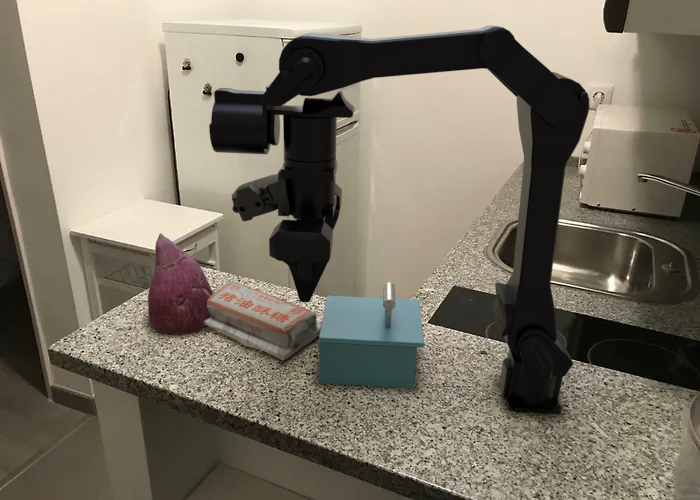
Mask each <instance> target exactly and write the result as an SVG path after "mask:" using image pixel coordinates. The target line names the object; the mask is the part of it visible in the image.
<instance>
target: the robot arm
mask: <svg viewBox="0 0 700 500" xmlns="http://www.w3.org/2000/svg"><path fill="white" fill-rule="evenodd" d="M481 69H483V70H488V71H489V73H490V74H492V75H493V76H494V78H496V80H498V81H499V82H500V83H501V84H502V85H503V86H504V87H505V88H506V89H507V90H508V91H509V92H511V93H512V94H513V95H514V96H515V97H516V111H517V124H518V131H519V137H520V143H521V146H522V148H521V149H522V153H523V154H522V155H523V166H522V167H523V168H522V170H523V171H522V178H521V186H520V187H521V188H520V198H519V207H518V217H517V218H518V219H517V228H516V239H515V246H514V247H515V248H514V258H513V268H512V273H511V275H510V277H509V279H508V280H507V282H506V283H503V282H495V284H494V287H495V300H494V301H495V302H494V304H493V305H492V307H491V308H492V309H491V310H492V312H493V315H494V318H495V321H496V324H497V326H498V329H499V332H500V336H501V337H502V338H503V337H504V338H505V341H506V344H507V346H508V354H507V358H506V357H505V358H503V359H502V364H501V369H500V370H501V372H500V377H499V384H498V385H499V388H500V392H501V394H502V397H503V398H505V401H506V405H507V408H508V410H510V411H517V412H519V411H520V412H530V413H531V412H534V413H550V414H561V413H562V410H563V408H562V405H561V402H560V400H559V397H560V393H561V389H562V383H563V378H564V377H566V376H567V374H568V372H570V370H571V368H572V367H573V365H574V361H573V360H572V357H571V356H570V354H569V352H568V350H567V348H566V345H565V343H564V342H563V340H562V338H561V336H560V334H559V331H558V327H557V314H556V308H555V302H554V297H553V292H552V285H551V281H552V274H553V268H554V261H555V260H554V259H555V252H556V245H557V237H558V228H559V222H560V221H559V220H560V214H561V206H562V197H563V189H564V183H565V174H566V168H567V165H568V162H569V161H570V159H571V157H572V155H573V154H574V152H575V150H576V148H577V147H578V145H579V143H580V141H581V138H582V135H583V131H584V128H585V126H586V122H587V119H588V115H589V112H590V97H589V94H588V91H587V90H586V89H585V88H584V87H583V86H582V84H581V83H579V82H577V81H576V80H574V79H572V78H570V77H567V76H565V75H563V74H560V73H558V72H555V71H551V70H550V69H549V68H548V67H547V66H546V65H545V64H543V62H541V60H540V59H538V58H537V57H535V56H534V55H533V54H532V53H531V52H530V51H529V50H528V49H526V48H525V47H524V46H523V45H522V44H521V43H520V42H519V41H518V40H517V39H516V38H515V36H514V34H513V33H512V32H511V31H510V30H509V29H507V28H505V27H502V26H498V25H485V26H483V27H479V28H475V29H464V30H454V31H442V32H431V33H421V34H419V33H418V34H411V35H399V36H389V37H388V36H387V37H378V38H377V37H375V38H368V37H367V38H366V37H357V36H349V35H342V34H330V33H322V32H321V33H320V32H309V33H304V34H302V35H301V34H300V35H299V36H297V37H294V38H293V39H291V40H290V41H288V42H287V43H286V45H285V46H284V47H283V49H282V50H281V52H280V55H279V59H278V71H279V72H278V74H277V75H276V76H275V77H274V79H273V80H272V82H270V83H269V84H268V85H266V86H265V90H263V91H261V90H239V89H235V88H232V87H231V88H230V87H219V88H217V89H215V91H214V92H213V95H214V97H213V98H214V103H213V105H212V108H211V109H212V110H211V118H210V123H209V125H208V131H209V139H210V144H211V147H212V150H213V151H214V152H215V153H224V154H247V155H251V154H252V155H268V154H269V152H270V149H271V146H275V147H276V146H278V145H279V143H280V138H281V137H280V136H281V119H280V116H283V117H282V124H283V129H282V130H283V131H282V134H283V135H282V136H283V164H282V166H281V168H280V169H279V170H278V171H277V173H275V174H270V175H267V176H264V177H263V176H262V177H260V178H257V179H254V180H250V181H247V182H245V183H243V184H240V185H238V186H237V188H236V189H235V190H234V191H233V193H232V194H231V201H232V203H233V205H232V207H231V208H232V211H233V213H236V214H239V217H240V219H241V221H242V222H249V221H252V220H253V219H254V218H255V217H259V216H263V215H266V214H268V213H273V212H275V211H277V216H278V217H290V216H291V217H292V218H293V219H282V220H281V221H280V222H279V223H278V224H276V225H275V226H274V228H273V229H272V232H271V234H270V236H269V238H268V246H269V247H268V248H269V249H268V251H269V252H268V253H269V257H270V258H272V259H274V260H276V261H279V262H283V263H284V264H285V265H287V266H288V268H289V271H290V273H291V276H292V280H293V283H294V285H295V290H296V293H297V296H298V300H299V301H300V303H310V301H311V300H312V297H313V295H314V293H315V291H316V288H317V287H318V285H319V282H320V280H321V278H322V276H323V274H324V272H325V270H326V268H327V265H328V263H329V262H330V260H331V256H332V251H333V242H334V241H333V240H334V230H335V228H336V225H337V222H338V220H339V217H340V212H341V207H342V203H343V202H342V196H343V189H342V188H341V187H340V186H339V185H338V184H337V183H336V178H337V177H336V176H337V170H338V160H337V126H338V125H337V122H338V121H337V120H338V119H337V118H340V119H342V118H343V119H350V118H353V116H354V114H355V109H356V108H355V106H354V105H353V104H352V103H350V102H349V100H347V98H346V96H344V93H343V91H342V90H340V89H344V88H346V87H349V86H353V85H356V84H358V83H361V82H365V81H368V80H373V79H378V78H379V79H380V78H390V77H401V76H411V75H413V76H414V75H424V74H434V73H435V74H436V73H446V72H459V71H470V70H471V71H472V70H481ZM337 90H339V91H337ZM333 91H337V92H336V94H335V95H334V96H333V97H331V98H327V97H326V98H325V97H323V98H322V97H319V98H318V97H315V96H319V95H322V94H327V93H330V92H333ZM297 96H302V97H305V98H304V99H303V103H302V104H299V105H288V104H287V103H288V102H290V101H291V100H293V99H295V98H296V97H297ZM285 104H287V105H285Z"/></svg>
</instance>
